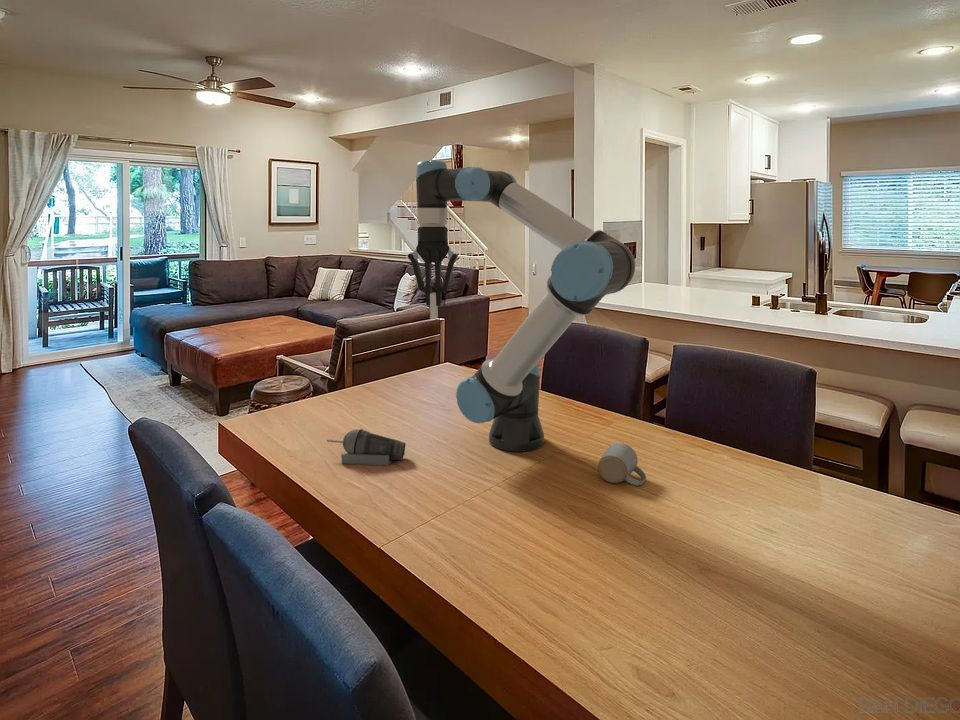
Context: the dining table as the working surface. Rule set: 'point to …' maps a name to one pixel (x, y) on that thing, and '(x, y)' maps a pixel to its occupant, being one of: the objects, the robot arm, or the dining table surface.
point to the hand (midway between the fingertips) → (434, 318)
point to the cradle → (365, 459)
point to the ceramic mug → (620, 465)
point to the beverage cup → (372, 444)
